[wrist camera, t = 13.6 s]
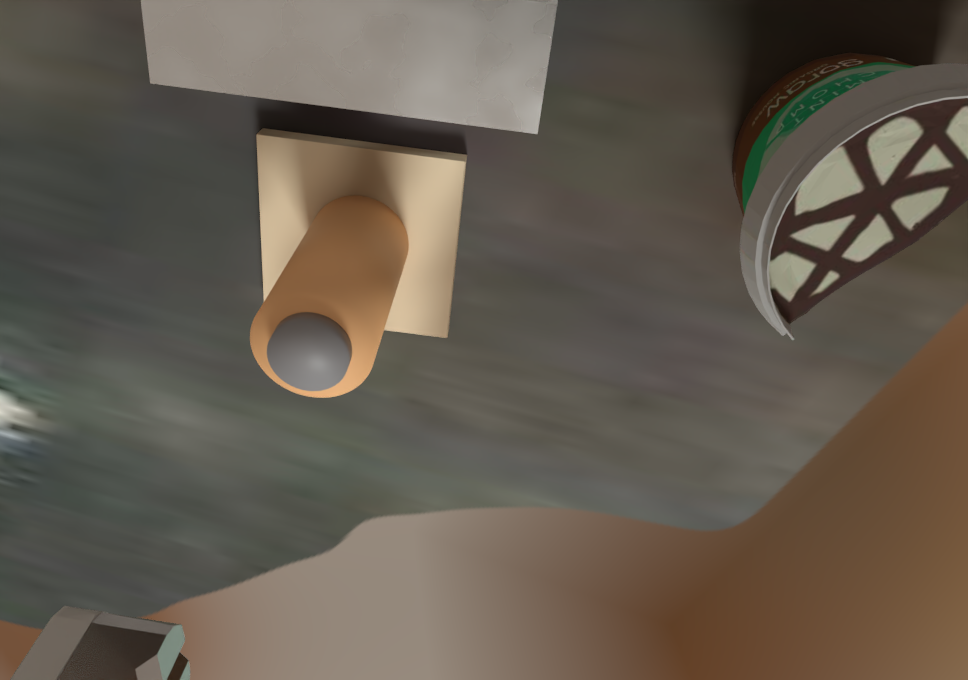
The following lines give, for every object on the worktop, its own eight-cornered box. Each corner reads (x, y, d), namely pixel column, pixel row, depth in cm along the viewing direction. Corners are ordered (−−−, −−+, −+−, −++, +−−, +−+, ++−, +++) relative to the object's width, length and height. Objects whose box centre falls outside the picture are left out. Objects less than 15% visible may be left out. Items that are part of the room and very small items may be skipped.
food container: (883, -46, 32) (1005, -10, 24) (959, 62, 34) (1097, 132, 26) (650, 159, 37) (683, 248, 29) (729, 242, 39) (781, 348, 31)
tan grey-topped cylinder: (411, 202, 38) (373, 310, 29) (405, 291, 41) (369, 416, 32) (310, 189, 38) (240, 293, 29) (311, 279, 41) (246, 400, 32)
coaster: (467, 154, 38) (465, 161, 37) (448, 328, 43) (447, 338, 42) (262, 128, 38) (256, 134, 37) (269, 305, 43) (264, 314, 42)
